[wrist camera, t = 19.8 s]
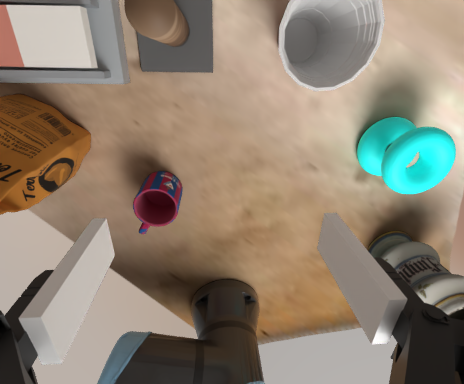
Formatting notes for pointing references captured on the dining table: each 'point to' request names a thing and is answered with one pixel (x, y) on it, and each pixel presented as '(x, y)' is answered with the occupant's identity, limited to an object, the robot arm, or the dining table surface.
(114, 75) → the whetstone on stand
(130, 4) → the wooden pestle
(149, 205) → the cup
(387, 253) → the apothecary jar
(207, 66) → the mat
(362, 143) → the donuts
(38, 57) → the rocker
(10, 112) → the coffee package
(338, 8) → the plastic cup
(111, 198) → the dining table surface
